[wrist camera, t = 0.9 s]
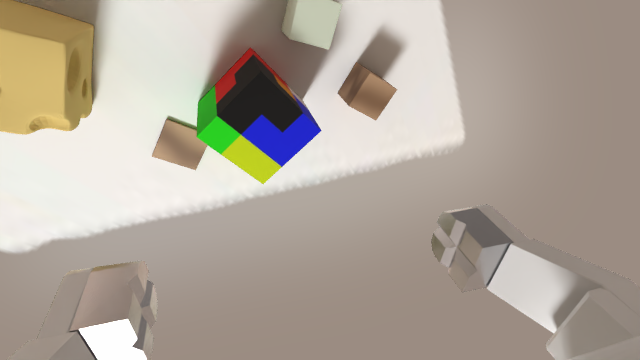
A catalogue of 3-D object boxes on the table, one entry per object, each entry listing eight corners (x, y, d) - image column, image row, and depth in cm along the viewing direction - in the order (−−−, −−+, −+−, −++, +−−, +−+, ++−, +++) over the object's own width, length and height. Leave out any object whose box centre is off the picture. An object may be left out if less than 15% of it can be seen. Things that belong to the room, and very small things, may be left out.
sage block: (290, -15, 39) (300, -10, 35) (329, -2, 41) (342, 4, 37) (281, 30, 41) (289, 39, 37) (317, 40, 43) (329, 49, 39)
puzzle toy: (302, 99, 47) (321, 130, 39) (254, 146, 49) (263, 184, 41) (250, 47, 41) (260, 71, 33) (198, 102, 43) (196, 137, 36)
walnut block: (356, 61, 46) (370, 72, 42) (381, 77, 49) (397, 89, 45) (337, 92, 48) (348, 105, 44) (362, 106, 51) (376, 120, 47)
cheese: (94, 108, 40) (68, 147, 32) (-22, 83, 36) (-86, 122, 28) (99, 20, 36) (69, 41, 28) (-35, -21, 31) (-116, -10, 23)
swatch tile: (166, 118, 43) (166, 119, 43) (211, 135, 46) (211, 136, 46) (152, 154, 46) (152, 156, 45) (195, 168, 49) (195, 170, 48)
